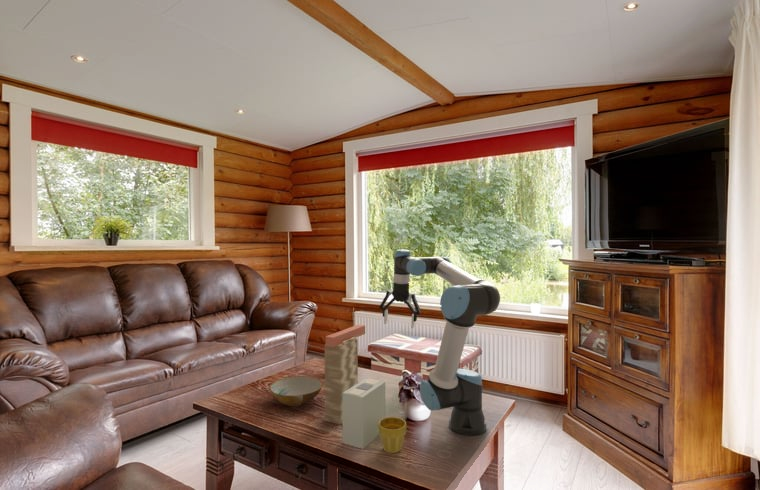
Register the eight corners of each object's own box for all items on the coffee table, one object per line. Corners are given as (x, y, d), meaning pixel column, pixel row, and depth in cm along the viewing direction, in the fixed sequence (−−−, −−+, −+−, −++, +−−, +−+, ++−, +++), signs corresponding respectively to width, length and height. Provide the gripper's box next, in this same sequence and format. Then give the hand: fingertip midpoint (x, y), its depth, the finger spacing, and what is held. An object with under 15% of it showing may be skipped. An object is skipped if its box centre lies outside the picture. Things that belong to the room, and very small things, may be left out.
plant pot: (403, 458, 144) (402, 431, 144) (375, 453, 147) (375, 427, 147) (408, 443, 154) (408, 418, 154) (382, 440, 157) (382, 415, 156)
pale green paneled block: (366, 423, 170) (366, 377, 170) (385, 428, 166) (385, 381, 165) (342, 443, 154) (342, 392, 154) (362, 448, 150) (362, 396, 150)
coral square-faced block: (358, 332, 193) (357, 324, 193) (365, 333, 191) (365, 325, 191) (325, 345, 170) (325, 336, 170) (333, 347, 169) (333, 337, 168)
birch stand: (342, 407, 187) (342, 334, 186) (359, 411, 183) (359, 336, 182) (323, 420, 174) (322, 341, 173) (340, 424, 169) (340, 344, 169)
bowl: (329, 406, 187) (329, 389, 187) (275, 417, 177) (275, 399, 176) (314, 388, 210) (314, 373, 210) (265, 396, 199) (265, 380, 199)
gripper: (428, 283, 190) (426, 327, 192) (379, 277, 198) (377, 319, 201) (425, 286, 183) (422, 331, 185) (373, 280, 191) (372, 323, 194)
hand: (399, 325), depth 193 cm, fingers open, 13 cm apart
